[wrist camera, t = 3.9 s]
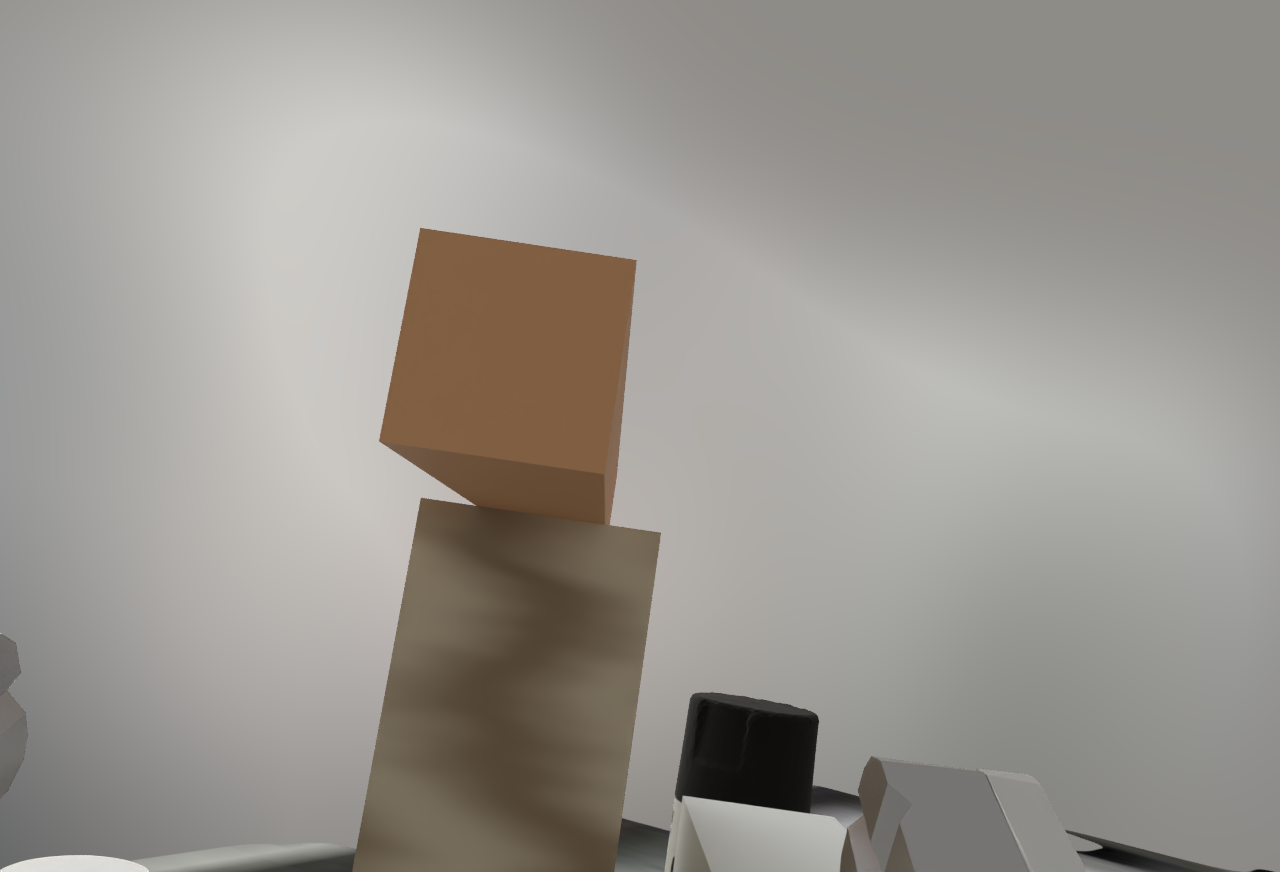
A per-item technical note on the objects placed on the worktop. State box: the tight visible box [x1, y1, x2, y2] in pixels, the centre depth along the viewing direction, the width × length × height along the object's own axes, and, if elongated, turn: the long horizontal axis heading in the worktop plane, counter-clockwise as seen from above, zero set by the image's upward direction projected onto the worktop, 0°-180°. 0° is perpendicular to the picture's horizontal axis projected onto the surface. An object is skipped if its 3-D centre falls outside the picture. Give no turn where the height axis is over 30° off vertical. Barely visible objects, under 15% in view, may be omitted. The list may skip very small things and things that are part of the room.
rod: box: [379, 228, 636, 525], centre depth 26 cm, size 3×26×3 cm, turn 2°
